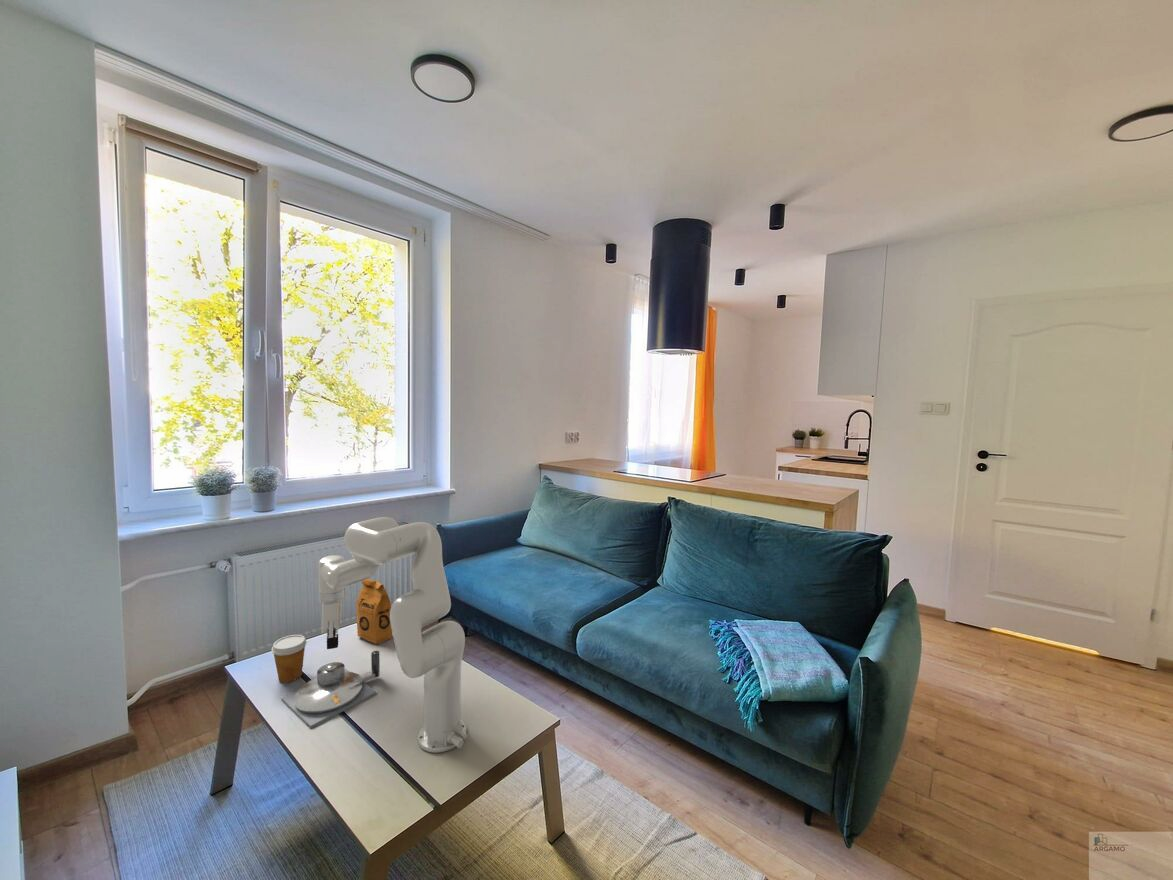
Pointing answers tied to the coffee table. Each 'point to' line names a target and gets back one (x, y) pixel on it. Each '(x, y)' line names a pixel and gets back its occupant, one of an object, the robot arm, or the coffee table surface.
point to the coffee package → (373, 612)
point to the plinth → (318, 718)
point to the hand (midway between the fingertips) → (332, 647)
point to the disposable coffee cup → (289, 657)
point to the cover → (330, 674)
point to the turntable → (334, 690)
